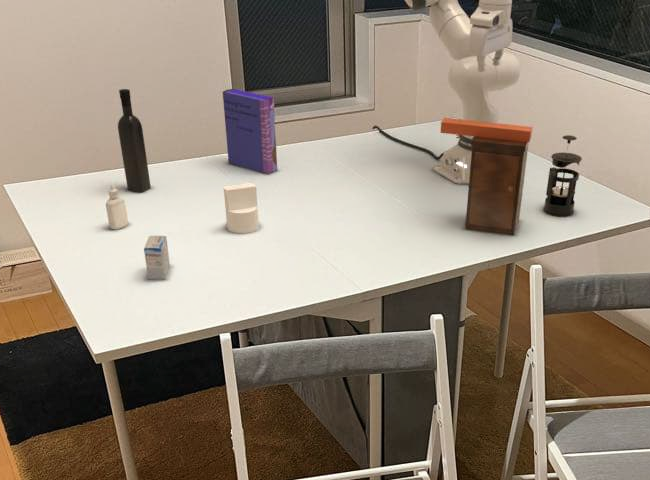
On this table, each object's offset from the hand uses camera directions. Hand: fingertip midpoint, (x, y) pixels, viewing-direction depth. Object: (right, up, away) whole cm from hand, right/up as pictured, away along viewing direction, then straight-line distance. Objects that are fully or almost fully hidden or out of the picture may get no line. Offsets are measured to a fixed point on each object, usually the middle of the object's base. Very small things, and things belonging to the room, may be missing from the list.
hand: (489, 68), depth 230 cm
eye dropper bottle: (-105, -44, +4) cm, 114 cm away
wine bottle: (-107, -26, +29) cm, 114 cm away
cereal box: (-75, -14, +49) cm, 90 cm away
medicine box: (-87, -61, -19) cm, 108 cm away
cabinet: (+3, -41, +14) cm, 43 cm away
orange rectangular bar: (-1, -19, 0) cm, 19 cm away
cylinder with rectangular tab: (-70, -43, +7) cm, 83 cm away
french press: (+24, -34, +25) cm, 49 cm away
